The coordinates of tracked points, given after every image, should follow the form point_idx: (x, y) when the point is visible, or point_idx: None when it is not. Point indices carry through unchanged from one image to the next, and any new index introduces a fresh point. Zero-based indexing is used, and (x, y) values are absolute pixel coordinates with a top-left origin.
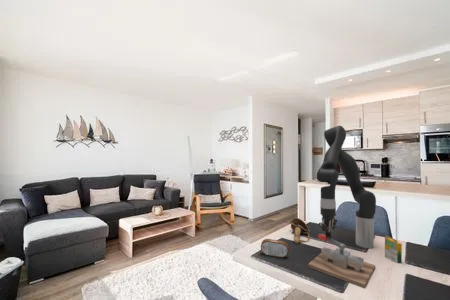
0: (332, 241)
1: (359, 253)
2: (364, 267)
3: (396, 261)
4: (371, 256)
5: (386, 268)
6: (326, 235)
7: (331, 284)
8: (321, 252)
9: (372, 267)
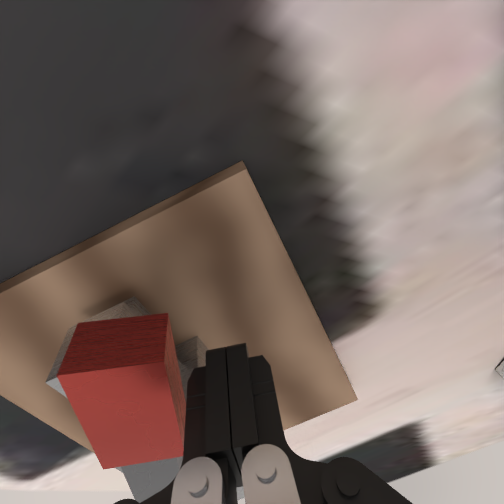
0: (139, 501)
1: (475, 254)
2: (281, 408)
3: (501, 373)
4: (484, 300)
5: (394, 391)
6: (189, 410)
7: (6, 448)
8: (57, 355)
9: (319, 412)
